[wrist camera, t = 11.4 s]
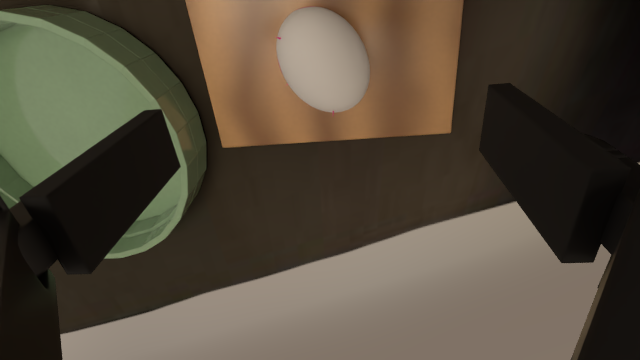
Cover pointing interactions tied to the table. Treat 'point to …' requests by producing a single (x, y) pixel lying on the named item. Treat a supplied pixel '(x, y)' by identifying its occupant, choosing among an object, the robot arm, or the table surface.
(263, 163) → the table surface
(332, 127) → the wooden board
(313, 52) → the stress ball
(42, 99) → the bowl
